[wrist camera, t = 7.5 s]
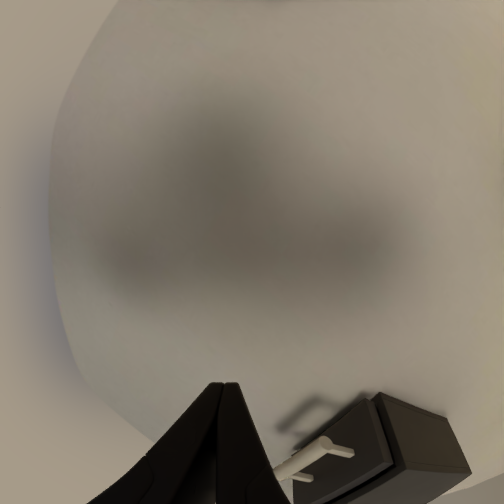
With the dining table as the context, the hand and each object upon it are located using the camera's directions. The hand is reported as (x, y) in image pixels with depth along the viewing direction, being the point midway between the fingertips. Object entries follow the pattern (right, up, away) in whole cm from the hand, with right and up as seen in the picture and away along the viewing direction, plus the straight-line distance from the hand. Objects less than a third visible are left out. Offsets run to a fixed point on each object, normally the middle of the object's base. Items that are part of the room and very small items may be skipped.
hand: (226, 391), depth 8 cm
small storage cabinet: (+14, -16, +17) cm, 27 cm away
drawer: (+11, -14, +16) cm, 24 cm away
